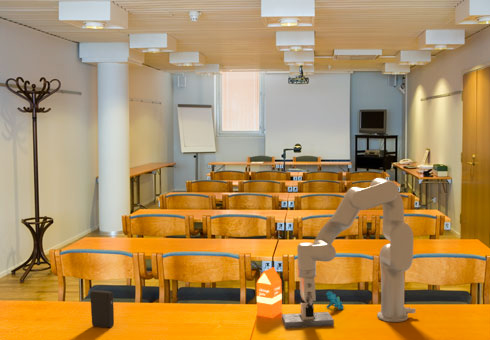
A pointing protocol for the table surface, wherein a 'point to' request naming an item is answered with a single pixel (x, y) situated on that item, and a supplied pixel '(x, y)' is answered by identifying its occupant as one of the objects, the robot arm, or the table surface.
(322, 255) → the robot arm
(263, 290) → the orange juice
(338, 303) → the teal plastic figure
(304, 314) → the square peg
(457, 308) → the table surface
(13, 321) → the table surface
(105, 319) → the card reader
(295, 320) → the grey peg hole board
